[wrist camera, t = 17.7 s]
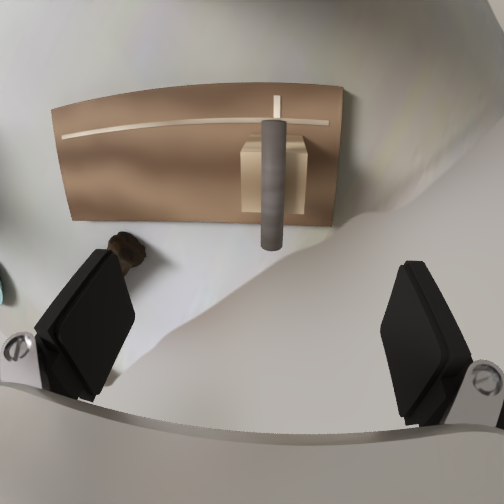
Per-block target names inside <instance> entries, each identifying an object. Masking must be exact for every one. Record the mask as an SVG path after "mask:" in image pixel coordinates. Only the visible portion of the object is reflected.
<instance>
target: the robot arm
mask: <svg viewBox="0 0 504 504" xmlns="http://www.w3.org/2000/svg"><path fill="white" fill-rule="evenodd" d="M134 320H135V312H134V309H133V306H132V302H131V299H130V296H129V293H128V290H127V286H126V283H125V280H124V276H123V273H122V269H121V266H120V262H119V259H118V256H117V255H116V254H114V252H113V251H112V250H108V249H96V250H95V251H94V252H93V253H92V254H91V255H90V256H89V258H88V259H87V260H86V261H85V262H84V263H83V265H82V266H81V267H80V268H79V269H78V271H77V272H76V273H75V274H74V276H73V277H72V278H71V279H70V281H69V282H68V283H67V284H66V286H65V287H64V288H63V289H62V291H61V292H60V293H59V295H58V296H57V297H56V298H55V300H54V301H53V302H52V304H51V305H50V306H49V308H48V309H47V310H46V312H45V313H44V314H43V316H42V317H41V319H40V320H39V321H38V323H37V324H36V326H35V327H34V329H35V330H36V332H37V334H36V336H35V337H34V336H33V335H32V334H31V333H29V332H19V333H16V334H14V335H12V336H11V337H9V338H8V339H7V340H6V341H5V343H4V344H3V346H2V348H1V352H0V504H504V373H503V371H502V370H501V369H500V368H499V367H498V366H497V365H495V364H494V363H493V362H490V361H487V360H477V361H474V362H473V360H472V357H471V353H470V350H469V348H468V346H467V344H466V341H465V340H464V337H463V335H462V333H461V331H460V329H459V327H458V325H457V323H456V321H455V319H454V317H453V315H452V313H451V311H450V309H449V307H448V305H447V303H446V301H445V299H444V297H443V295H442V293H441V292H440V290H439V288H438V286H437V284H436V283H435V281H434V279H433V277H432V276H431V274H430V272H429V270H428V268H427V267H426V265H425V263H424V262H423V261H406V262H405V264H404V265H401V266H400V267H399V270H398V273H397V277H396V280H395V283H394V287H393V290H392V294H391V297H390V300H389V303H388V306H387V309H386V312H385V315H384V318H383V321H382V324H381V328H380V333H381V338H382V342H383V345H384V349H385V353H386V357H387V361H388V366H389V370H390V374H391V378H392V383H393V387H394V392H395V396H396V401H397V405H398V411H399V415H400V416H401V417H404V419H405V425H406V426H407V425H413V424H419V427H416V428H409V429H400V430H390V431H378V432H364V433H348V434H317V435H316V434H312V435H311V434H272V433H271V434H270V433H255V432H240V431H230V430H221V429H212V428H205V427H197V426H190V425H183V424H178V423H171V422H166V421H160V420H155V419H151V418H146V417H141V416H136V415H132V414H128V413H123V412H119V411H115V410H111V409H107V408H103V407H100V406H96V405H93V404H89V403H86V402H82V401H79V400H77V399H78V397H80V399H84V400H87V401H90V402H93V401H94V399H95V396H96V395H98V394H100V392H101V391H102V388H103V386H104V384H105V382H106V380H107V377H108V375H109V373H110V371H111V369H112V366H113V364H114V362H115V360H116V358H117V356H118V354H119V352H120V350H121V347H122V345H123V343H124V341H125V339H126V337H127V335H128V333H129V331H130V329H131V327H132V325H133V323H134Z"/></svg>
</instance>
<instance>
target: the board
mask: <svg viewBox="0 0 504 504" xmlns="http://www.w3.org/2000/svg"><path fill="white" fill-rule="evenodd" d="M342 101H343V87H339V86H328V85H316V84H299V83H263V82H253V83H217V84H200V85H187V86H177V87H167V88H159V89H151V90H143V91H137V92H130V93H124V94H118V95H113V96H107V97H102V98H97V99H92V100H88V101H83V102H79V103H75V104H71V105H67V106H63V107H59V108H55V109H52V110H51V113H52V121H53V128H54V135H55V141H56V147H57V153H58V159H59V164H60V169H61V174H62V179H63V184H64V188H65V193H66V197H67V201H68V205H69V209H70V213H71V217H72V221H190V222H230V223H261V212H242V205H241V157H240V152H241V150H242V148H243V146H244V144H245V143H246V141H247V139H248V137H249V135H250V134H261V121H263V120H283V121H286V122H287V134H286V135H302V137H303V140H304V143H305V147H306V150H307V153H308V157H307V175H306V191H305V206H304V214H286V213H284V220H283V224H287V225H309V226H330V227H332V221H333V212H334V203H335V194H336V184H337V173H338V162H339V149H340V136H341V120H342Z"/></svg>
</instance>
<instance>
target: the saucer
mask: <svg viewBox="0 0 504 504" xmlns="http://www.w3.org/2000/svg"><path fill="white" fill-rule="evenodd" d="M2 302H3V291H2V285H1V281H0V305H1V304H2Z"/></svg>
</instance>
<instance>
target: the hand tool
mask: <svg viewBox="0 0 504 504" xmlns="http://www.w3.org/2000/svg"><path fill="white" fill-rule="evenodd" d="M107 249H108V250H112V251H113V252H114V254H116V255H117V256H118V259H119V262H120V266H121V269H122V273H123V276H125V275H126V274H127V272H128V271H129V269H130V268H131V267H136V266H138V265H140V264H141V263H142V262H143V261H144V258H145V257H146V252H145V247H144V246H143V245H141V244H140V243H139V242H138V240H137V239H136V238H134V237H133V236H132V235H130V234H128V233H127V232H119V233H118V234H117V235H114V236H113V237H111V238H110V240H109V242H108V248H107Z"/></svg>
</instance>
